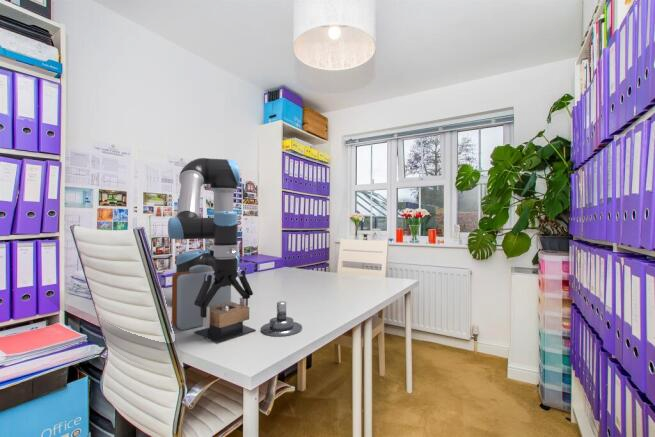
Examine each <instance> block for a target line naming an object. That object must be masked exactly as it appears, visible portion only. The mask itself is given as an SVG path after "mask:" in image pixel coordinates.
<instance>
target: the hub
mask: <svg viewBox="0 0 655 437" xmlns="http://www.w3.org/2000/svg"><path fill="white" fill-rule="evenodd" d="M302 330H303V326H302V324H301V323H299V322H296V321H294V319H293V317H290V316H287V301H282V300H281V301H280V300H279V301H277V302H276V317H272V318H270V319H269V322H268V323H264V324H263V325H262V326H261V327H260V332H261V334H263V335H265V336H269V337H279V338H280V337H290V336H294V335H297V334H298V333H300V332H302Z"/></svg>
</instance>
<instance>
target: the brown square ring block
mask: <svg viewBox="0 0 655 437" xmlns="http://www.w3.org/2000/svg"><path fill="white" fill-rule="evenodd" d="M224 305H229V309H228V310H224V311H222V306H224ZM209 307H210V324H211V325H214V326H216V327H219V328H221V327H224V326H228V325H231V324H235V323H238V322H242V321H243V322H244V321H248V320H250V307H249V306H243V305H240V303H236V302H233V301H231V302H227V303H223V304H218V305H214V306H209ZM201 321H203V318H202V317H201Z"/></svg>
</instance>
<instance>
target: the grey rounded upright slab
mask: <svg viewBox="0 0 655 437" xmlns="http://www.w3.org/2000/svg"><path fill="white" fill-rule="evenodd" d="M206 274H208V275H213V274H214V269H212V267H211V266H207V265H196V266H193V267H191V268H189V272H179V273H173V275H172V277H171V323H172V324H173V325H174V327H176V328H178V329H179V330H181V331H186V330H187V331H188V330H191V329H195V328H200V327H203V321H201V316H200V314H201V308H200V307H199V306H196V305H194V303H195V300H196V298H197V296H198V294H199V291H200V289H201V287H202V285H203V282H204V276H205V275H206ZM214 281H215V280H214V279H213V281H212V282H211V285H210V287H209V289H208V291H209V290H210V288H211V287H212V284H213V283H214ZM217 285H218V284H217ZM207 293H208V292H207ZM227 302H232V285H231V286H225V287H221V288H220V289H218V291H217V292H216V294H215V295H214V297H213V298H212V300H211V301H210V303H209V304H208V307H209V306H214V305H218V304H223V303H227Z"/></svg>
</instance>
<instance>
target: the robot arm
mask: <svg viewBox="0 0 655 437" xmlns="http://www.w3.org/2000/svg"><path fill="white" fill-rule="evenodd" d="M179 173H180V174H179V177H178V181H179V183H180V189H179V196H178V202H177V209H176V216H173V217H170V218H169V219H168V220H167V221H168V222H167V235H168V237H169V239H171V240H196V239H197V240H198V239H199V240H201V239H205V240H206V239H208V240H209V239H210V240H211V239H212V240H213V244H212V245H211V247H210V248H209V252H206V251H205V249H195V250H188V251H184V252H183V251H182V252H180V253H179V254H177V255H176V261H175V262H176V263H175V268H176V269H175V270H176V271H175V272H176V273H179V272H189V268H191V267H193V266H196V265H207V266H211V267H212V269H214V274H213V275H208V274H206V275H205V276H204V282H203V285H202V287H201V289H200V291H199V294H198V296H197V298H196V300H195V303H194V305H196V306H199V307H200V308H201V314H200V316H201V317H202V318H203V326H202V327H203V328H210V307H208V304H209V303H210V301H211V300H212V298H213V297H214V295H215V294H216V292H217V291H218V289H220V288H221V287H225V286H231V287H233V288H234V289H235V290H236V291H237V293H238V294H239V295H240V297H239V304H240V305H243V306H247V307H249V306H248V305H249V299H251V296H253V295H254V293H253V292H254V291H253V290H252V288H251V286H250V284H249V281H248V278H247V276H246V271H245V270H243V269H239V265H240V258H241V257H240V255H241V254H240V252H239V251H238V234H239V231H238V230H239V228H238V227H239V225H238V223H239V218H238V213H237V212H236V211H234V195H235V192H236V191H237V190H238V187H239V186H241V174H240V173H241V172H240V166H239V163H238V162H237V161H236V160H232V159H226V158H225V159H223V158H206V157H200V158H195V159H193V160H190V161H189V162H188V163H187V164H185V165H184V166H183V168H182V169H181V171H180V172H179ZM203 185H207V186H208V185H209V186H210V190H211V191H212V193H213V217H200V208H201V190H202V188H201V187H203ZM237 277H238V279H239V280H237ZM213 279H214V280H215V281H214V283H213V284H212V287H211V288H210V290H209V291H208V289H209V287H210V285H211V282H212V281H213ZM239 281H240V283H241V284H240V283H239ZM217 284H218V285H217ZM241 285H242V286H241ZM207 292H208V293H207Z"/></svg>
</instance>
